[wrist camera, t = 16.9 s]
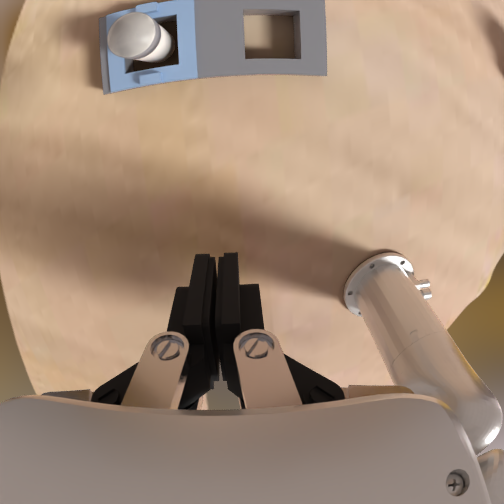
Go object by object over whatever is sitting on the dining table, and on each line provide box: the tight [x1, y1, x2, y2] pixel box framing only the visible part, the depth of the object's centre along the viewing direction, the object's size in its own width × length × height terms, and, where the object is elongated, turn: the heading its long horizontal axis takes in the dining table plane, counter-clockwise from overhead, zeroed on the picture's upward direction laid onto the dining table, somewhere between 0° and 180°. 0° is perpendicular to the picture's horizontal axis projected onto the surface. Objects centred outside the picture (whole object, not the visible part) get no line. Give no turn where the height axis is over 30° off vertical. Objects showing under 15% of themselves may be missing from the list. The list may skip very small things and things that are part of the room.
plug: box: [107, 12, 175, 63], centre depth 21 cm, size 4×4×10 cm
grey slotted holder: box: [99, 0, 327, 94], centre depth 24 cm, size 23×9×4 cm, turn 92°
